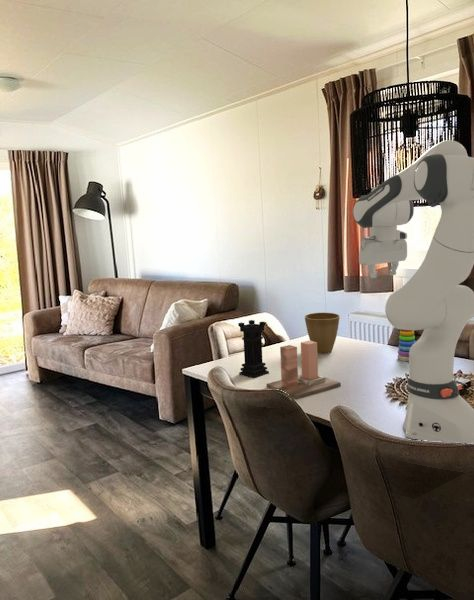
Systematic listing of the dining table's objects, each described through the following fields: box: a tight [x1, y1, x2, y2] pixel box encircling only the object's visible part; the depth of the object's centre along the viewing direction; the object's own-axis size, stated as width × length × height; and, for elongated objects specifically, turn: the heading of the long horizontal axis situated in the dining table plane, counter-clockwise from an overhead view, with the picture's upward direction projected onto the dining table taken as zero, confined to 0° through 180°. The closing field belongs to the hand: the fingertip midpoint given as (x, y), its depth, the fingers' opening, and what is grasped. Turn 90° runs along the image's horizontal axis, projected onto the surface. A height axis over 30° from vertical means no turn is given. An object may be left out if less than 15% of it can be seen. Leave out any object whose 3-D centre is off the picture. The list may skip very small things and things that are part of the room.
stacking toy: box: [396, 329, 417, 362], centre depth 207 cm, size 8×8×19 cm
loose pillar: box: [300, 340, 319, 381], centre depth 182 cm, size 4×4×14 cm
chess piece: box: [237, 319, 270, 379], centre depth 198 cm, size 8×8×20 cm
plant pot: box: [304, 312, 341, 355], centre depth 225 cm, size 15×15×16 cm
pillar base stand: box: [266, 344, 342, 400], centre depth 181 cm, size 16×20×15 cm
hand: (383, 276), depth 177 cm, fingers open, 8 cm apart
